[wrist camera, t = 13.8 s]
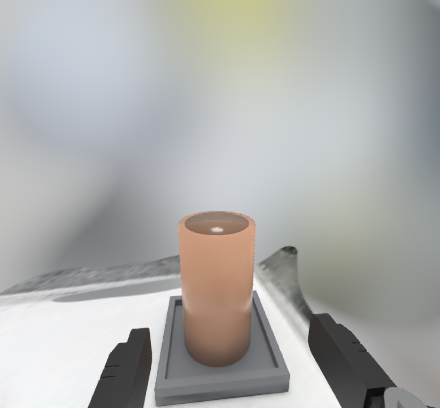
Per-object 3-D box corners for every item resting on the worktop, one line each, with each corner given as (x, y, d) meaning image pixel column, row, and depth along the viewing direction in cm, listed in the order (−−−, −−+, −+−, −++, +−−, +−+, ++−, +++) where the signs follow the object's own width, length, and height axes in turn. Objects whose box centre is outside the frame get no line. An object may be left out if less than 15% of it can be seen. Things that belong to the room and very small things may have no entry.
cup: (182, 371, 17) (174, 239, 14) (186, 313, 23) (180, 211, 20) (258, 363, 18) (265, 235, 15) (243, 309, 24) (246, 209, 21)
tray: (156, 406, 16) (154, 389, 15) (171, 308, 25) (170, 296, 24) (288, 391, 17) (289, 374, 16) (255, 302, 26) (256, 290, 25)
